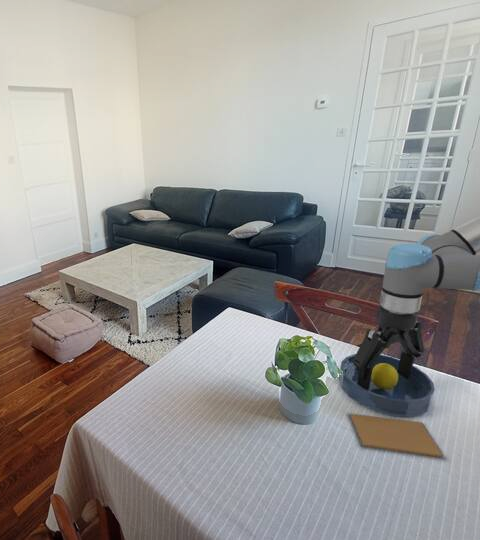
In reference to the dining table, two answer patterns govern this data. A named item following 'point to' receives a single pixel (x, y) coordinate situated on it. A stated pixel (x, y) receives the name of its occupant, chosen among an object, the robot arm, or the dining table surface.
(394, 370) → the lemon
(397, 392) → the bowl
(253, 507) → the dining table surface
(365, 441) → the cork mat
